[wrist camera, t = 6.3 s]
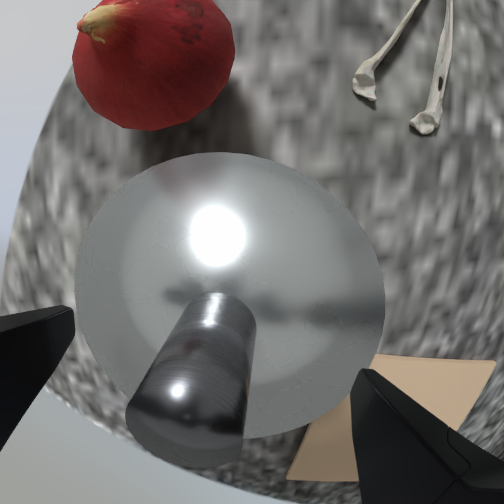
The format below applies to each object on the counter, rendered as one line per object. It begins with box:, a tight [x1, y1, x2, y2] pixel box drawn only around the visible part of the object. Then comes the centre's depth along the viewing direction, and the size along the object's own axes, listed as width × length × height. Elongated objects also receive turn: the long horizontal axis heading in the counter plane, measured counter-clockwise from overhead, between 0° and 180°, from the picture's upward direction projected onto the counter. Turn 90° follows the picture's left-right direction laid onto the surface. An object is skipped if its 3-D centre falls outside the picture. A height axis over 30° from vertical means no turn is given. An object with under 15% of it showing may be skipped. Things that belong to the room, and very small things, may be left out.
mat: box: [286, 354, 497, 482], centre depth 17 cm, size 12×12×1 cm
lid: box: [75, 152, 385, 468], centre depth 9 cm, size 12×12×6 cm
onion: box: [72, 0, 235, 131], centre depth 9 cm, size 6×6×8 cm
